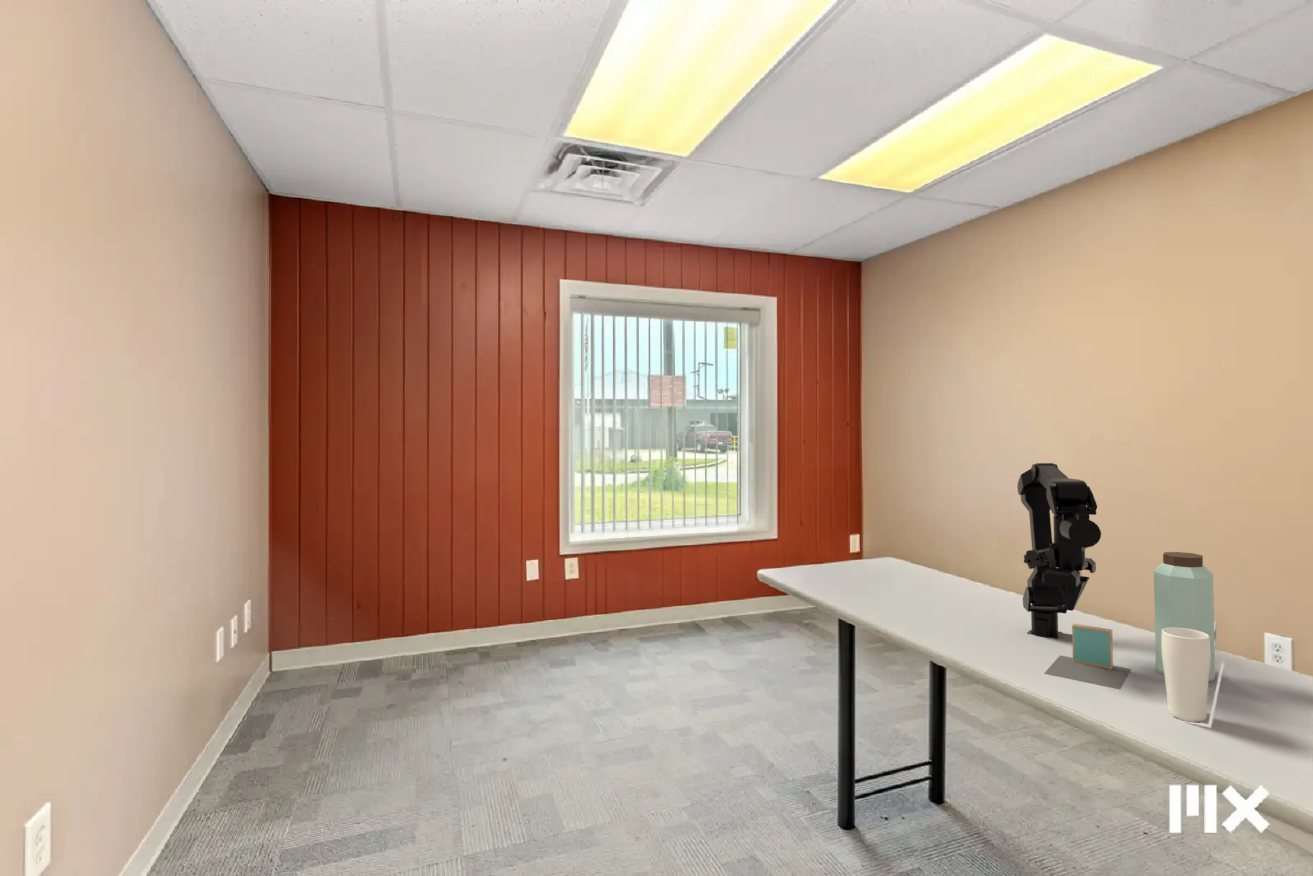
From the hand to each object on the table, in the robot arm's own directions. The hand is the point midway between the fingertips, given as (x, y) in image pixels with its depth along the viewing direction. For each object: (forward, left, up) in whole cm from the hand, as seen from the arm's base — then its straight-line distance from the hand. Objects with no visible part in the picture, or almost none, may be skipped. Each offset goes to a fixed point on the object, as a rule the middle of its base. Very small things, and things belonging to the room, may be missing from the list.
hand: (1070, 610), depth 141 cm
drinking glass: (+16, +21, -12) cm, 29 cm away
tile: (-1, +4, -11) cm, 12 cm away
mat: (+4, +4, -12) cm, 13 cm away
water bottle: (-7, +19, -12) cm, 23 cm away
